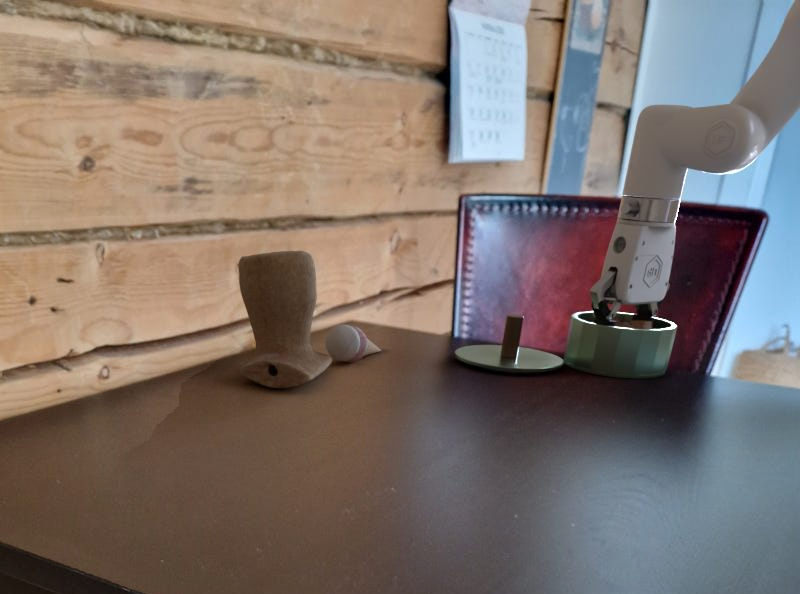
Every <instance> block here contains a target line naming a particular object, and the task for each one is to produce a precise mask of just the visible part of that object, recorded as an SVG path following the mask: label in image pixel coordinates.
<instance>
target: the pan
mask: <svg viewBox="0 0 800 594" xmlns="http://www.w3.org/2000/svg"><path fill="white" fill-rule="evenodd" d="M633 314H634V313H629V312H620V311H618V312H617V314H616V315H615V317H614V318H615V319H620V320H624V322H629V321H632V317H633ZM653 318H654V320H653V324H652V329H633V328H621V327H614V326H607V325H601V324H596V323H593V320H594V318H593V310H589V311H587V310H586V311H579V312H575V313H572V314H571V316H570V320H569V321H570V322H569V326H568V332H567V336H566V343H565V347H564V353H563V364H565V365H566V366H567V367H569V368H572V369H573V370H576V371H580V372H582V373H587V374H593V375H596V376H597V375H598V376H602V377H610V378H611V377H612V378H618V379H619V378H621V379H640V380H641V379H655V378H660V377H663V376H664V375H665V374H666V371H667V370H668V366H669V362H670V359H671V355H672V350H673V346H674V342H675V338H676V334H677V331H678V325H677V324H675V322H672V321H670V320H667V319H664V318H659V317H656V316H655V317H653Z"/></svg>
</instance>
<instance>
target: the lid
mask: <svg viewBox="0 0 800 594" xmlns="http://www.w3.org/2000/svg"><path fill="white" fill-rule="evenodd" d="M523 324H524V315H521V314H513V313H511V314H506V317H505V323H504V329H503V336H502V342H501V344H475V345H466V346H461V347H459V348H457V349H455V351H454V357H455V358H456V359H457V360H458V361H461V362H463V363H465V364H468V365H471V366H473V367H476V368H479V369H483V370H487V371H491V372H499V373H507V374H522V375H523V374H524V375H525V374H539V373H540V374H541V373H543V372H544V373H546V372H552V371H556V370H559V369H561V368H562V367H563V366H564V359H562V358H561V357H560V356H558V355H555V354H553V353H550V352H546V351H542V350H538V349H535V348H528V347H523V346H522V347H521V346H520V342H521V336H522V331H523Z"/></svg>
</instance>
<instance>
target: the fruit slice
mask: <svg viewBox="0 0 800 594" xmlns="http://www.w3.org/2000/svg"><path fill="white" fill-rule="evenodd" d="M594 320H595V318H594ZM594 320H593V323H594ZM612 321H615V322H616V324H615V327H621V328H633V329H652V321H643V320H641V321H639V320H632V321H629V322H624V320H620V319H615V318H614V319H613V320H612Z"/></svg>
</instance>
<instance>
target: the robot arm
mask: <svg viewBox="0 0 800 594" xmlns="http://www.w3.org/2000/svg"><path fill="white" fill-rule="evenodd" d="M787 11H788V12H787V14H785V15H786V16H785V17H784V20H783V22H782V25H781V27H780V30H779V31H778V33H777V36H776V38H775V40H774V41H773V43H772V46H771V47H770V48H769V51H768V52H767V54H766V55H765V56H764V59H763V60H762V61H761V63H760V64H759V65H758V67H757V68H756V70H755V71H754V72H753V73H752V75H751V76H750V78H748V80H747V81H746V83H745V84H744V85H743V86H742V87H741V89H740V90H739V91H738V92H737V94H736V95H735V97H733V98H732V99H731V101H730V102H729V103H725V104H717V105H709V106H700V107H699V106H698V107H692V106H689V105H681V104H680V105H679V104H650V105H648V106H645V107H644V108H643V109H642V110H641V111H640V113H639V115H638V117H637V121H636V125H635V130H634V135H633V141H632V145H631V150H630V155H629V160H628V165H627V170H626V174H625V180H624V184H623V190H622V195H621V199H620V204H619V210H618V214H617V219H616V224H615V226H614V229H613V232H612V235H611V238H610V240H609V244H608V248H607V251H606V255H605V259H604V262H603V266H602V271H601V275H600V278H599V280H597V282H595V283H594V284H593V285H592V286H591V288H590V289H589V294H590V301H591V304H590V307H591V309H592V311H593V318H595V320H594V323H596V324H601V325H607V326H614V327H615V324H616V322H615V321H612V320H613V319H614V317H615V315H616V314H617V312H619V310H620V309H621V307H622V306H623V305H626V306H635V310H636V313H632V314H633V317H632V320H639V321H641V320H643V321H652V324H653V320H654V318H653V317H655V318H656V317H657V315H658V312H659V308H660V306H661V305H662V304H663V302H664V298H665V296H666V295H667V293H668V291H669V289H670V287H671V285H670V284H671V283H670V282H669V281H670V276H671V271H672V267H673V266H672V265H673V259H674V253H675V247H676V246H675V245H676V235H677V233H676V232H677V229H676V228H677V226H676V220H677V217H678V212H679V208H680V203H681V198H682V195H683V191H684V186H685V182H686V178H687V173H688V170H694V171H698V172H703V173H707V174H711V175H712V174H713V175H727V174H734V173H738V172H740V171H742V170H744V169H745V168H747V167H749V166H750V165H751V164H752V163H753V162H754V161H755V160H757V159H758V157H759V156H760V155H761V154H762V153H763V152H764V151H765V149H766V148H767V147H768V146H770V144H771V142H773V140H774V139H775V138H776V137H777V136H778V135H779V133H780V132H781V131H782V130H783V129H784V128H785V126H786V125H787V124H788V123H789V122H790V120H792V118H793V117H794V116H795V115H796V114H797V113H798V112H799V110H800V0H794V1H793V3H792V4H791V6H790V8H789V10H787ZM609 305H611V306H610V307H609Z"/></svg>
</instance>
